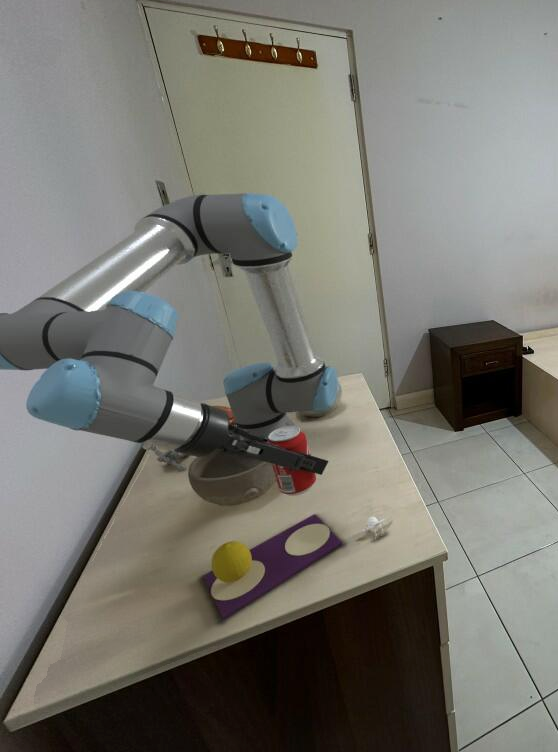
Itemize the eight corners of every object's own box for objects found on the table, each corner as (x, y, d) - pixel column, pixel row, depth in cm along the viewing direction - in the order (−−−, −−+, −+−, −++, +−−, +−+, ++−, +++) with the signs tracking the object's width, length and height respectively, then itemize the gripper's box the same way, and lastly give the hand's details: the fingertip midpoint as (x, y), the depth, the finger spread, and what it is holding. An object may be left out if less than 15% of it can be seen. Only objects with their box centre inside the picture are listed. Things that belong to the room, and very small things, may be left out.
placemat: (203, 578, 71) (202, 575, 71) (315, 516, 85) (314, 513, 85) (223, 619, 64) (222, 617, 63) (342, 544, 77) (341, 541, 77)
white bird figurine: (387, 512, 84) (387, 499, 82) (397, 529, 82) (398, 516, 79) (349, 531, 79) (349, 519, 77) (360, 550, 77) (359, 538, 74)
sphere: (288, 412, 129) (305, 428, 119) (277, 372, 123) (294, 385, 114) (333, 397, 139) (353, 411, 129) (325, 359, 133) (345, 370, 123)
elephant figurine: (207, 454, 108) (183, 462, 99) (193, 471, 108) (167, 481, 99) (176, 431, 107) (149, 438, 98) (161, 449, 107) (133, 457, 98)
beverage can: (324, 480, 77) (311, 426, 72) (298, 501, 71) (283, 445, 67) (299, 474, 79) (285, 421, 74) (272, 494, 73) (255, 439, 69)
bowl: (278, 507, 88) (267, 469, 84) (185, 525, 83) (168, 487, 79) (294, 463, 103) (285, 429, 99) (216, 476, 98) (203, 442, 95)
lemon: (231, 566, 72) (217, 533, 69) (262, 564, 73) (250, 530, 70) (212, 594, 67) (197, 559, 64) (246, 591, 68) (233, 556, 64)
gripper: (144, 433, 61) (274, 465, 80) (202, 470, 52) (335, 497, 71) (173, 389, 63) (293, 431, 82) (234, 417, 54) (354, 457, 73)
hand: (312, 462), depth 77 cm, fingers closed on beverage can, 6 cm apart
